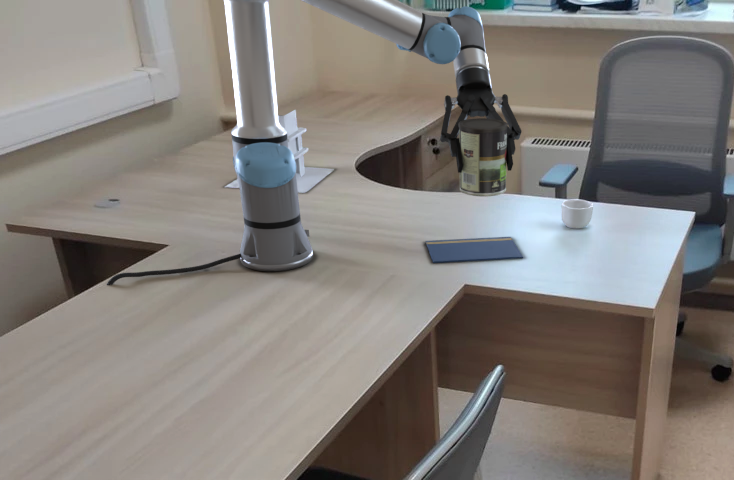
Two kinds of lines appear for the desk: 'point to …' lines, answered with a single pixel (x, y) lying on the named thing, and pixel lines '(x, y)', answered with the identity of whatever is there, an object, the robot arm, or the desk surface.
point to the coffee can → (483, 156)
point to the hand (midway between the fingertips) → (485, 168)
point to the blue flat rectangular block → (473, 249)
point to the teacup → (576, 213)
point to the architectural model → (297, 156)
